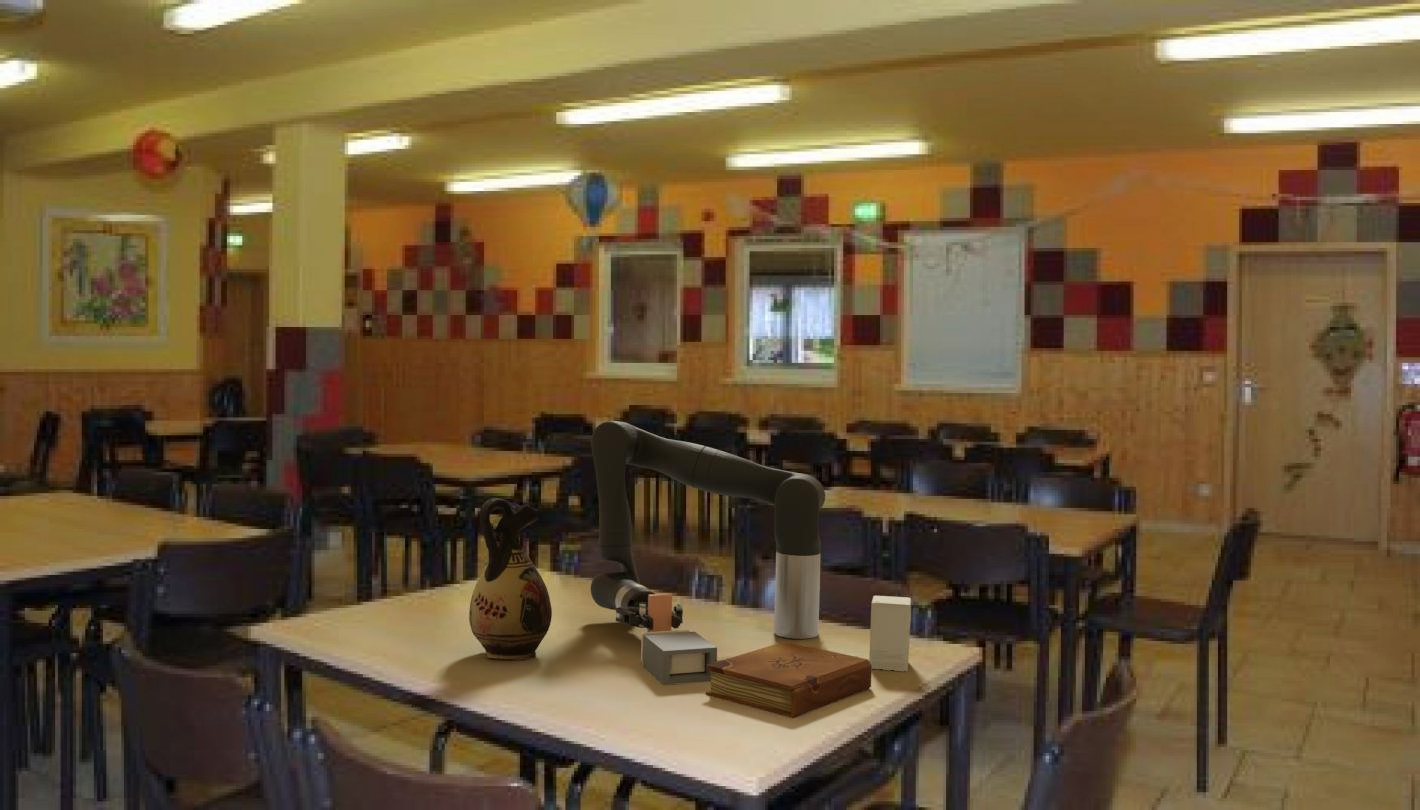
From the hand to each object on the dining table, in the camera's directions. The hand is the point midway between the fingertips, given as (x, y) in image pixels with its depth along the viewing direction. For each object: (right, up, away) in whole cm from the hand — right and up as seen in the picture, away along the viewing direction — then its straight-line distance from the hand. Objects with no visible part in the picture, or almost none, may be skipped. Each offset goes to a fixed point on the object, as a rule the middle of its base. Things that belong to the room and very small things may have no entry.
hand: (664, 624), depth 219 cm
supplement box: (+42, -8, +1) cm, 43 cm away
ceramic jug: (-30, -6, +1) cm, 31 cm away
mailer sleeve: (+3, -7, -8) cm, 12 cm away
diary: (+22, -9, -18) cm, 30 cm away
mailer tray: (+2, -7, -4) cm, 8 cm away
